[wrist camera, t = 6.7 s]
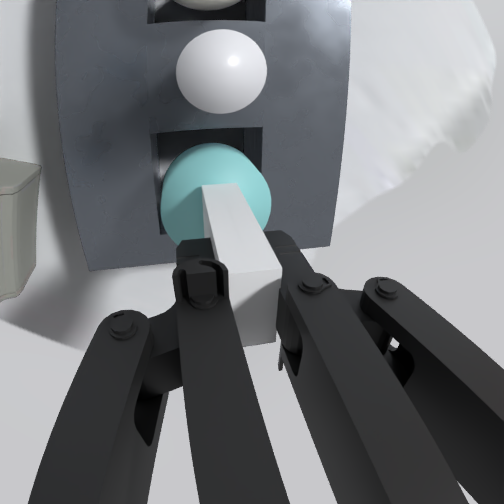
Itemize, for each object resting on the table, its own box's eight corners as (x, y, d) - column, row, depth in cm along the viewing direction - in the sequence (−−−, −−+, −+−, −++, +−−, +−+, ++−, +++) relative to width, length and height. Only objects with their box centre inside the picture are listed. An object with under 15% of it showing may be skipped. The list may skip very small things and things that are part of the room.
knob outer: (168, 204, 21) (167, 262, 15) (162, 131, 18) (155, 159, 12) (240, 197, 22) (268, 251, 16) (241, 126, 19) (273, 152, 13)
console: (102, 234, 22) (89, 271, 18) (87, -49, 11) (67, -75, 7) (304, 215, 26) (329, 246, 21) (316, -51, 14) (348, -72, 10)
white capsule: (177, 103, 14) (177, 116, 10) (176, 48, 13) (176, 30, 8) (235, 100, 15) (265, 112, 10) (236, 46, 14) (267, 30, 9)
